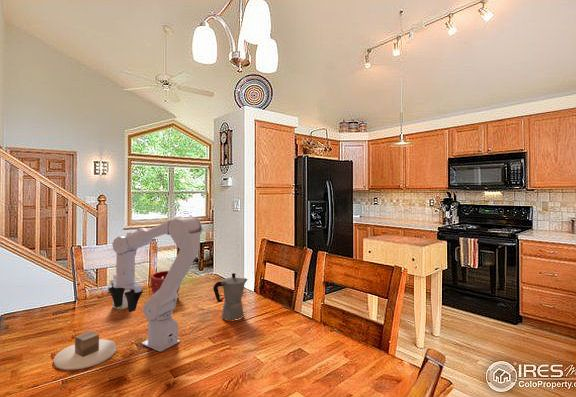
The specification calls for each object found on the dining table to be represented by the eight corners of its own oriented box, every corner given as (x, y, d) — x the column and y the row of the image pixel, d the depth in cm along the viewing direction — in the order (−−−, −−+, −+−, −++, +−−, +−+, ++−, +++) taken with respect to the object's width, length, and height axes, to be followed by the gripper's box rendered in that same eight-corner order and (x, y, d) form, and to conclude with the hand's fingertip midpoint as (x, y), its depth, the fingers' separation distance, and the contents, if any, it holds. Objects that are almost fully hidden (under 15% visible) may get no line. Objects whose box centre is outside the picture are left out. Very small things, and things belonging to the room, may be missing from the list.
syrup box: (111, 307, 133) (112, 274, 133) (124, 303, 138) (125, 271, 138) (120, 310, 131) (120, 276, 130) (133, 305, 136) (133, 273, 135)
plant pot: (144, 302, 140) (144, 276, 140) (163, 293, 153) (164, 269, 152) (168, 306, 136) (168, 279, 136) (186, 297, 149) (187, 272, 148)
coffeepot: (240, 309, 135) (241, 268, 134) (252, 316, 127) (253, 273, 127) (207, 318, 125) (208, 273, 125) (218, 326, 118) (219, 279, 117)
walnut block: (98, 350, 96) (98, 334, 96) (82, 357, 92) (83, 340, 92) (90, 346, 99) (90, 330, 99) (74, 352, 95) (75, 336, 95)
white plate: (126, 351, 98) (126, 347, 98) (71, 376, 84) (71, 372, 84) (98, 337, 106) (98, 335, 106) (43, 359, 92) (43, 355, 92)
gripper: (101, 269, 108) (101, 308, 108) (128, 276, 101) (127, 317, 101) (121, 265, 114) (120, 302, 115) (147, 271, 107) (146, 310, 108)
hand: (125, 308), depth 108 cm, fingers open, 7 cm apart
